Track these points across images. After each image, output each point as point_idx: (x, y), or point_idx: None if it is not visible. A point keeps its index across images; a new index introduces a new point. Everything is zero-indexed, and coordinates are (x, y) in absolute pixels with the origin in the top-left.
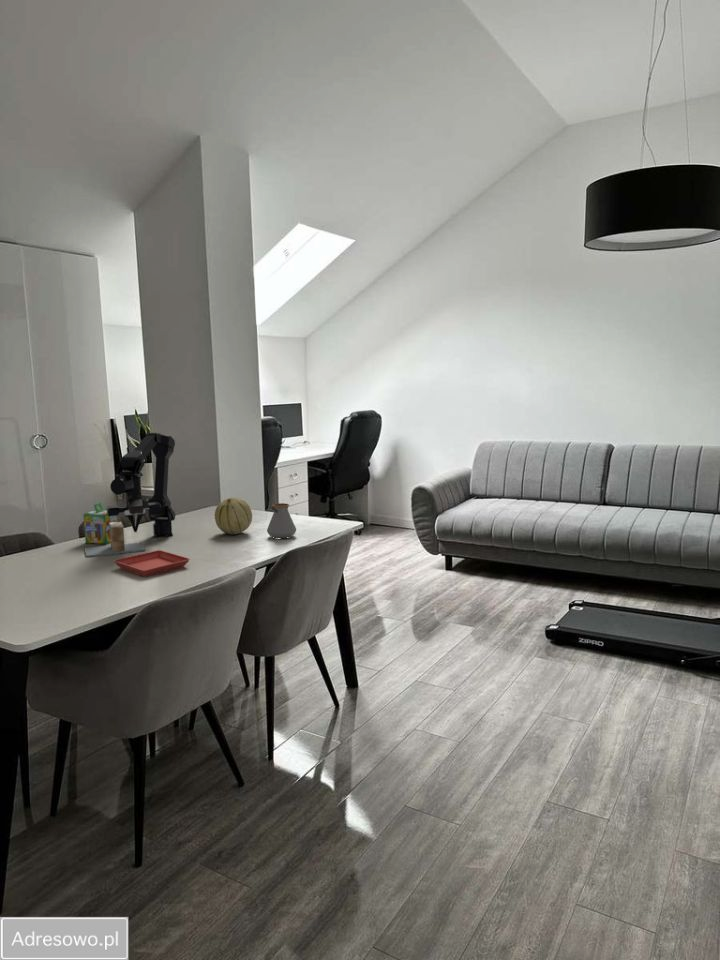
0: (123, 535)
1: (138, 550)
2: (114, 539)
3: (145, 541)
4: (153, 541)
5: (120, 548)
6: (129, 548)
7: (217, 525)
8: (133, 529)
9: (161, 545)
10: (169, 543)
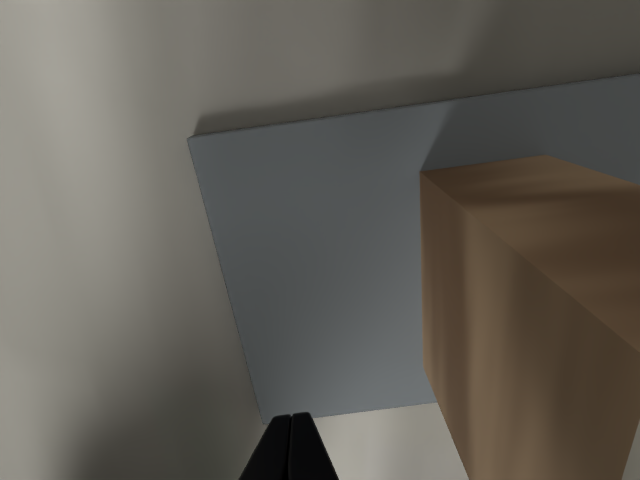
0: (511, 242)
1: (266, 125)
2: (633, 200)
3: (234, 468)
4: (169, 456)
5: (475, 173)
6: (366, 236)
7: None
8: (324, 447)
9: (64, 323)
10: (4, 371)
